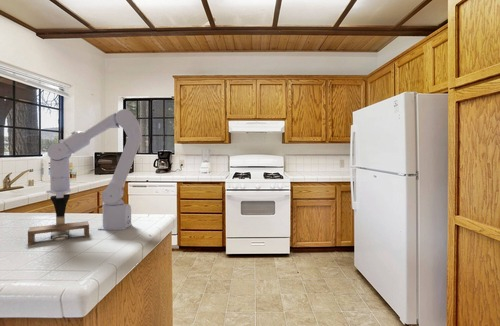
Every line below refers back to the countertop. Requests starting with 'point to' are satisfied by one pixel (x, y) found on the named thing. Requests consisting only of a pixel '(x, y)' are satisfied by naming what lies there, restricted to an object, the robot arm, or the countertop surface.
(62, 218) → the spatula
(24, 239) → the countertop surface
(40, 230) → the brown wooden bridge
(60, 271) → the countertop surface
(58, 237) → the silver flat dome
